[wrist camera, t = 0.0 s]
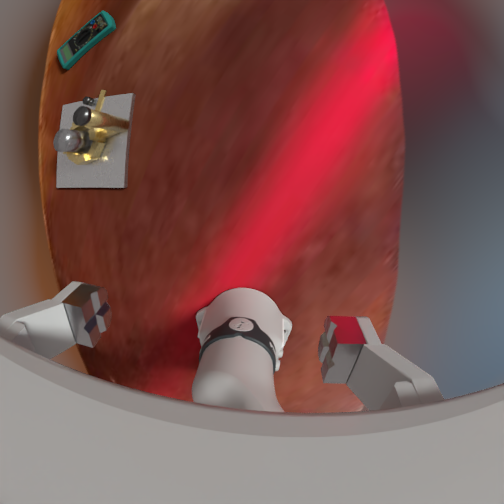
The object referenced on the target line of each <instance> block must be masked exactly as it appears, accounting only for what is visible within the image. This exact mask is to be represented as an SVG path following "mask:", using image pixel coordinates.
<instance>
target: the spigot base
mask: <svg viewBox="0 0 504 504" xmlns="http://www.w3.org/2000/svg"><path fill="white" fill-rule="evenodd" d="M106 91H107V90H101V92H100V95H99V98H96V99H93V98H90V97H85V98H84V99H83V101H80V102H75V103H71V104H67V105H63V109H62V116H61V123H60V130H59V131H58V132H57V133H56V135H55V138H54V148H55V149H56V151H58V157H57V188H81V187H94V188H127V177H128V159H129V146H130V135H131V125H132V117H133V109H134V102H135V94H133V93H130V94H122V95H115V96H108V97H105V94H106ZM80 106H85V107H88V108H90V109H92V110H96V111H100V112H103V113H107V114H111V115H114V116H117V117H121V118H124V119H127V120H128V121H129V123H130V125H129V128H128V130H127V131H126V132H120V133H118V134H115V135H113V136H111V137H109V138H106V142H104V143H106V144H105V146H104V148H103V150H102V153H101V155H100V157H99V158H98V159H97V160H95V161H93V162H91V163H89V164H87V165H77V164H75V163H74V162H72V161H71V160H69V159H68V157H67V154H63V152H79V153H80V154H84V153H88V151H89V149H90V147H91V145H92V143H93V140H90V139H89V132H88V131H89V130H90V129H86V130H84V131H78V130H70V128H71V127H72V123H73V115H74V112H75V111H76V109H77V108H79V107H80Z"/></svg>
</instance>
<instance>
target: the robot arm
mask: <svg viewBox="0 0 504 504" xmlns="http://www.w3.org/2000/svg"><path fill="white" fill-rule="evenodd" d="M107 300H108V293H107V290H106V289H105V288H104V287H100V286H95V285H91V284H86V283H82V282H77V281H72V282H71V283H70V284H69V285H68V286H67V287H65V288H64V289H63V290H62V291H61V292H60V293H59V294H57V295H56V296H55V297H54V298H53V299H52V300H50V299H48V300H45V301H42V302H39V303H36V304H33V305H30V306H27V307H24V308H21V309H18V310H15V311H12V312H10V313H7V314H4V315H3V316H2V317H1V318H0V504H504V383H503V384H500V385H497V386H494V387H491V388H488V389H484V390H481V391H477V392H474V393H470V394H466V395H462V396H458V397H454V398H450V399H445V400H444V398H443V396H442V394H441V392H440V390H439V388H438V386H437V384H436V382H435V380H434V378H433V377H432V376H430V375H429V374H427V373H426V372H424V371H423V370H421V369H420V368H419V367H417V366H416V365H414V364H413V363H411V362H410V361H408V360H407V359H406V358H404V357H403V356H401V355H400V354H398V353H397V352H395V351H394V350H393V349H391V348H390V347H388V346H387V345H385V344H381V342H380V340H379V338H378V336H377V334H376V331H375V329H374V327H373V325H372V323H371V321H370V319H369V318H368V317H346V316H327V318H326V319H325V323H324V328H325V332H324V333H323V334H322V335H321V337H320V341H319V347H318V356H319V361H321V362H322V363H323V364H322V367H321V373H322V378H323V383H347V384H346V385H347V386H348V387H349V388H350V389H351V390H352V391H353V393H354V394H355V395H356V396H357V397H358V398H359V399H360V400H361V401H362V402H363V404H364V405H365V406H366V407H367V408H368V409H369V410H370V411H358V412H339V413H291V412H284V411H283V409H282V408H281V406H280V405H279V403H278V401H277V398H276V395H275V388H274V378H273V374H274V372H275V371H278V369H279V366H280V360H278V358H279V357H282V355H283V351H282V349H283V347H284V345H285V343H286V340H287V338H288V336H289V334H290V331H291V329H292V322H291V321H290V320H289V319H288V318H287V317H285V316H284V315H282V313H281V312H280V311H279V309H278V307H277V305H276V304H275V303H274V301H273V300H272V299H271V298H270V297H268V296H267V295H266V294H264V293H262V292H260V291H257V290H254V289H250V288H235V289H231V290H228V291H225V292H223V293H221V294H220V295H219V296H217V297H216V298H215V299H214V300H213V302H212V303H211V304H210V305H209V306H207V307H205V308H203V309H201V310H199V311H198V312H197V314H196V321H197V325H198V330H199V332H198V338H199V339H200V344H201V349H200V356H199V366H198V369H197V372H196V375H195V379H194V382H193V384H192V398H193V401H194V402H190V401H185V400H180V399H175V398H170V397H165V396H161V395H157V394H152V393H148V392H144V391H140V390H137V389H133V388H129V387H126V386H122V385H119V384H116V383H112V382H109V381H106V380H103V379H100V378H97V377H94V376H91V375H88V374H85V373H82V372H80V371H77V370H74V369H72V368H69V367H67V366H64V365H61V364H59V363H57V362H54V361H52V360H50V359H51V358H53V357H55V356H56V355H58V354H60V353H62V352H63V351H65V350H66V349H68V348H70V347H72V346H73V345H75V344H76V343H78V344H81V345H85V346H88V347H92V348H93V347H94V346H95V345H96V343H97V342H98V341H99V339H100V338H101V334H100V333H101V332H103V331H106V330H107V328H108V327H109V326H110V322H111V308H110V306H109V305H108V304H107V302H106V301H107ZM284 330H286V331H284Z"/></svg>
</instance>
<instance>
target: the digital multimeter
mask: <svg viewBox="0 0 504 504" xmlns="http://www.w3.org/2000/svg"><path fill="white" fill-rule="evenodd" d="M115 29H116V25H115V21H114V19H113V17H112V16H110V15H109V14H108V13H107V12H105V11H101V12H100V13H99V14H97V15H96V16H95V17H94V18H93V19H91V20H90V21H89V22H88V23H87V24H86V25H84V26H83V27H82V28H81V29H80V30H79V31H78V32H76V33H75V34H74V35H73V36H72V37H71V38H70V39H69V40H68V41H67V42H65V43H64V44H63V45H62V46H61V47H60V48H59V49H58V50H57V55H58V59H59V61H60V63H61V65H62V67H63V68H64V69H67V70H69V69H70V68H71V67H72V66H73V65H74V64H75V63H76V62H77V61H78V60H79V59H80V58H81V57H82V56H83V55H84V54H85V53H86V52H88V51H89V50H90V49H91V48H92V47H93V46H94V45H96V44H97V43H98V42H99V41H101V40H102V39H103V38H104V37H106V36H107V35H108V34H110V33H111V32H112V31H114V30H115Z"/></svg>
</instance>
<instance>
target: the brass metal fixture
mask: <svg viewBox="0 0 504 504" xmlns="http://www.w3.org/2000/svg"><path fill="white" fill-rule="evenodd" d="M129 125H130V123H129V121H128V120H127V119H124V118H121V117H117V116H114V115H111V114H107V113H103V112H100V111H96V110H92V109H90V108H88V107H85V106H80V107H79V108H77V109H76V111H75V112H74V115H73V123H72V127H71V128H70V130H78V131H84V130H86V129H90V130H89V131H88V132H89V139H90V140H93V143H92V145H91V147H90V149H89V151H88V153H84V154H80V153H79V152H63V154H67V157H68V159H69V160H71V161H72V162H74V163H75V164H77V165H87V164H89V163H91V162H93V161H95V160H97V159H98V158H99V157H100V155H101V153H102V150H103V148H104V146H105V144H106V143H104V142H106V138H109V137H111V136H113V135H115V134H118V133H120V132H126V131H127V130H128V128H129Z"/></svg>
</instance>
